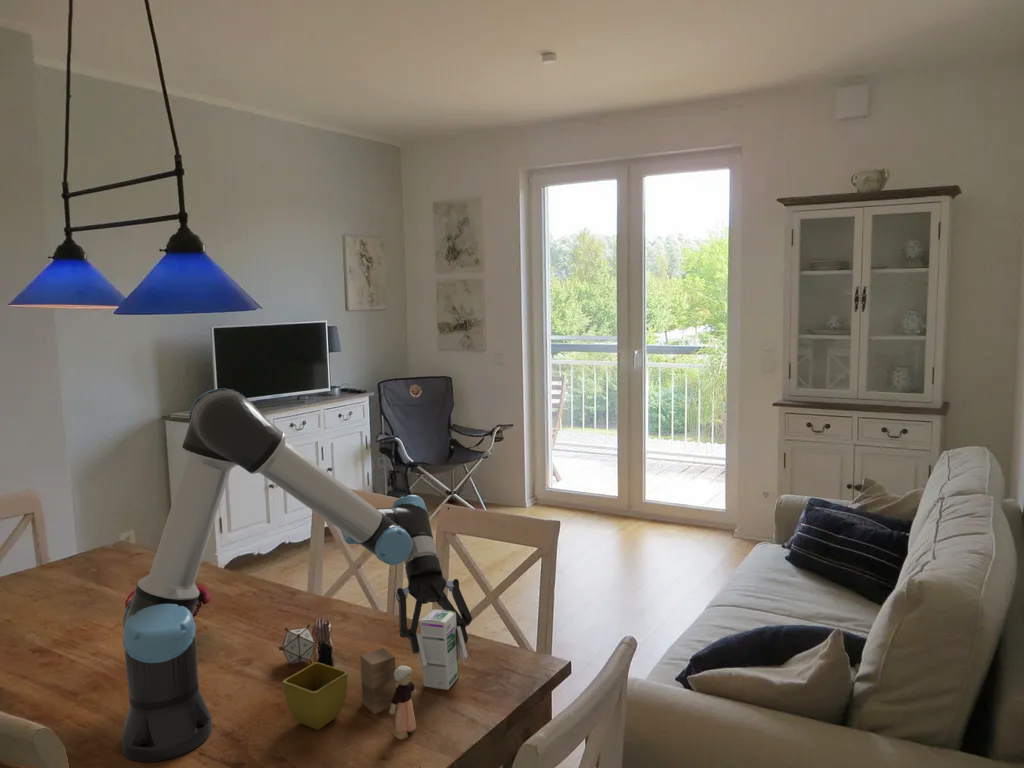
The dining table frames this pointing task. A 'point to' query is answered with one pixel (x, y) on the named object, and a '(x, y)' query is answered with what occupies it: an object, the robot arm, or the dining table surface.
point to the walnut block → (378, 680)
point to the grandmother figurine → (403, 703)
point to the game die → (298, 645)
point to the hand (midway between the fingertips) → (444, 663)
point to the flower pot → (316, 694)
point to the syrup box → (440, 648)
